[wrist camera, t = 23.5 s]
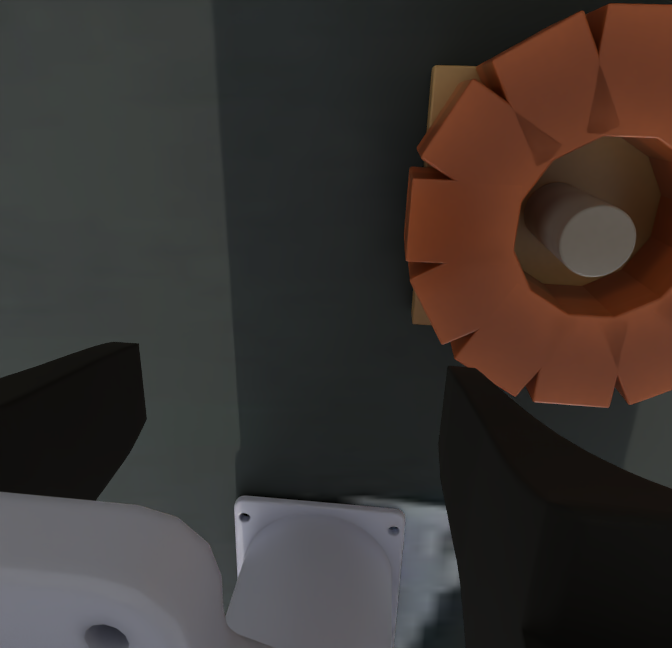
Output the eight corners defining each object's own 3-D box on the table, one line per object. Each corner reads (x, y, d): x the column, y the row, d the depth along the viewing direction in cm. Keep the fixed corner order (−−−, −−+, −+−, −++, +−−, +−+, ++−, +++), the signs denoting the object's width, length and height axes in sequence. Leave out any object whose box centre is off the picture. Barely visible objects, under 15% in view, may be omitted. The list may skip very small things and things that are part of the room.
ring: (705, 375, 21) (756, 420, 18) (394, 352, 22) (394, 392, 19) (815, 26, 17) (907, 9, 14) (421, 15, 17) (427, -2, 14)
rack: (644, 327, 22) (724, 400, 16) (411, 313, 22) (416, 379, 17) (708, 73, 18) (836, 62, 13) (431, 67, 19) (446, 53, 14)
